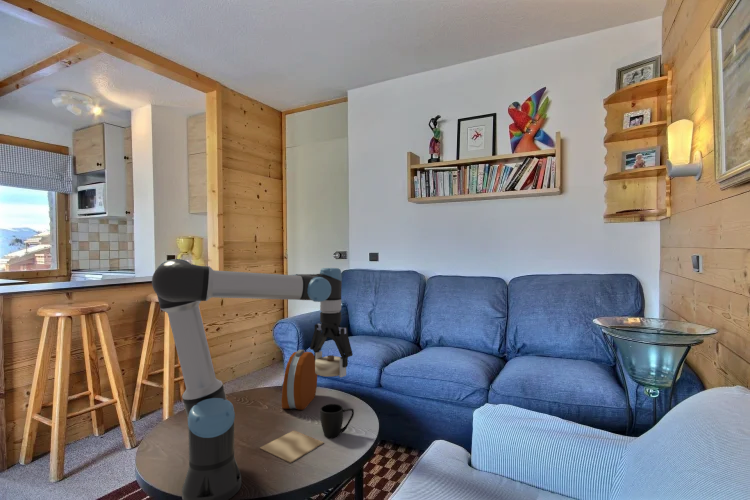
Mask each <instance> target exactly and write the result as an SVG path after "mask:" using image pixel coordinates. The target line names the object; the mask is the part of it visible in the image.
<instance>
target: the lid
mask: <svg viewBox="0 0 750 500" xmlns="http://www.w3.org/2000/svg"><path fill="white" fill-rule="evenodd" d="M340 358H341V356H335V355H334V354H333V355H326V356H322V357H321V358H318V359H316V360H315V373H316V374H317V376H321V377H324V378H325V377H330V378H331V377H339V376H340Z"/></svg>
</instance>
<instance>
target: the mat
mask: <svg viewBox="0 0 750 500" xmlns="http://www.w3.org/2000/svg"><path fill="white" fill-rule="evenodd" d="M324 443H325V442H324V441H322V440H319V439H316V438H315V437H312V436H309V435H306V434H304V433H302V432H299V431H297V430H295V429H293V430H291V431H290V432H288V433H286V434H284V435H282V436H280V437H278V438H276V439H274V440H272V441H270V442H268V443H265V444H264V445H262V446H260V447H259V449H260V451H263V452H265V453H268V454H270V455H272V456H274V457H276V458H279V459H280V460H282V461H284V462H287V463H289V464H291V463H293V462H295V461H297V460H298V459H300V458H301V457H303V456H305V455H307V454H308V453H310V452H312V451H313V450H315V449H316V448H317V449H318V448H319V447H321V445H323V444H324Z"/></svg>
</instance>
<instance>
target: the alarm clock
mask: <svg viewBox="0 0 750 500" xmlns="http://www.w3.org/2000/svg"><path fill="white" fill-rule="evenodd" d="M285 366H286V368H285V370H284V371H285V372H284V375H283V382H282V389H281V390H282V391H281V409H283V410H285V409H286V410H292V409H296V410H297V411H298V410H299V411H300V410H301V411H303V410H305V409H306V408H307V407H308V406H309V404H310V403H311V402H313V400H314V399H315V397H316V392H317V387H318V375H317V374H316V373H315V360H314V352H311V351H305V349H298V350H297V351H294V352H292V354H291V355H290V356H289V359H288V361H287V363H286V365H285Z"/></svg>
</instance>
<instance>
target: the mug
mask: <svg viewBox="0 0 750 500" xmlns="http://www.w3.org/2000/svg"><path fill="white" fill-rule="evenodd" d="M349 411H351V416H350V417H349V419H348V421H347V422H346V424H345V425H344V427H343V423H344V422H343V421H344V413H346V412H349ZM319 413H320V414H319V415H320V417H319V419H320V425H321V429H322V432H323V436H324V437H325V438H327V439H336V438H338V437H339V436H340V434H342V433H344V432H345V431H346V429H348V426H349V424H350V423H351V422H352V419H353V418H354V416H355V415H354V414H355V411H354V408H351V407H348V408H344V406H342V405H341V404H338V403H328V404H324V405H322V406H321V407H320V411H319Z"/></svg>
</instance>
